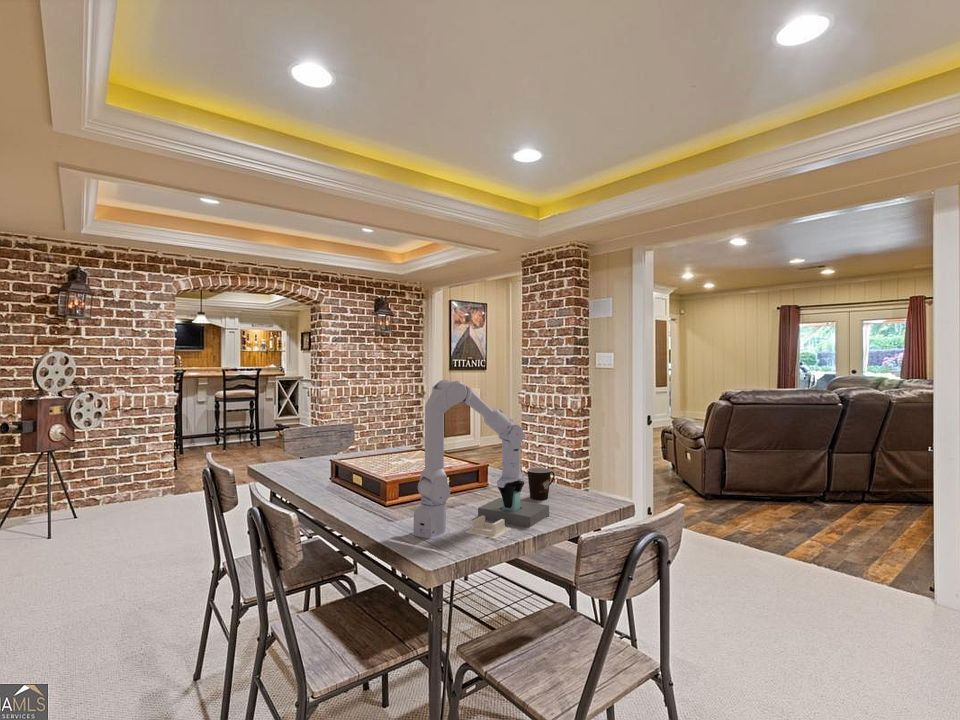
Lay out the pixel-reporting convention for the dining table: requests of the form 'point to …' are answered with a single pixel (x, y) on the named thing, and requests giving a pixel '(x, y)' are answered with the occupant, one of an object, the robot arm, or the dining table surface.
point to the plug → (513, 502)
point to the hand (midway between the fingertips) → (510, 505)
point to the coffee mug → (539, 482)
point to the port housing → (515, 513)
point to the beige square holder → (488, 528)
